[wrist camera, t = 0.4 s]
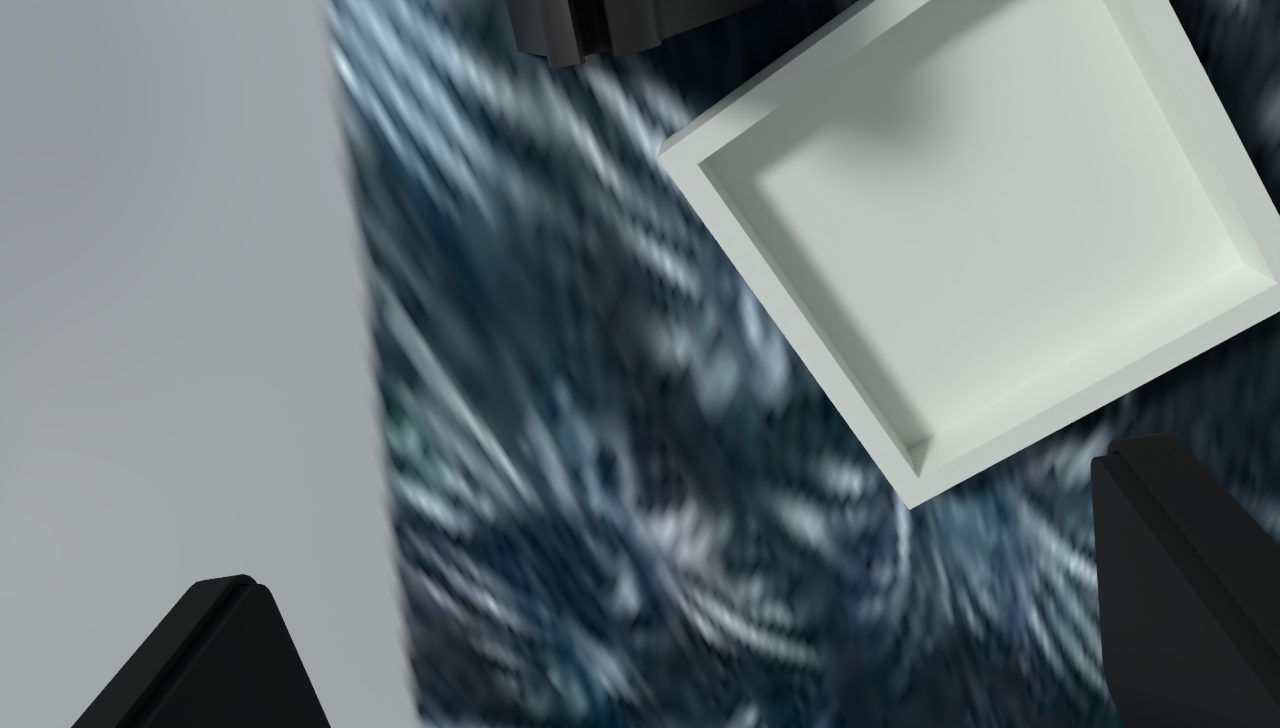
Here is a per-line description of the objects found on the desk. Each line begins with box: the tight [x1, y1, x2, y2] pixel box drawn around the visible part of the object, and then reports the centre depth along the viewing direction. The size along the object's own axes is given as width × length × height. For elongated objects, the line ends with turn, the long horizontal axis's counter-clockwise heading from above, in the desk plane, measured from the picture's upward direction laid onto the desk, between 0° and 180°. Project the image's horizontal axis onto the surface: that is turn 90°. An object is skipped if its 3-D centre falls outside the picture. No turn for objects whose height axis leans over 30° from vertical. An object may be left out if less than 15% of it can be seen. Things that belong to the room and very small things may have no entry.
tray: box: [657, 0, 1280, 510], centre depth 35 cm, size 16×17×3 cm
